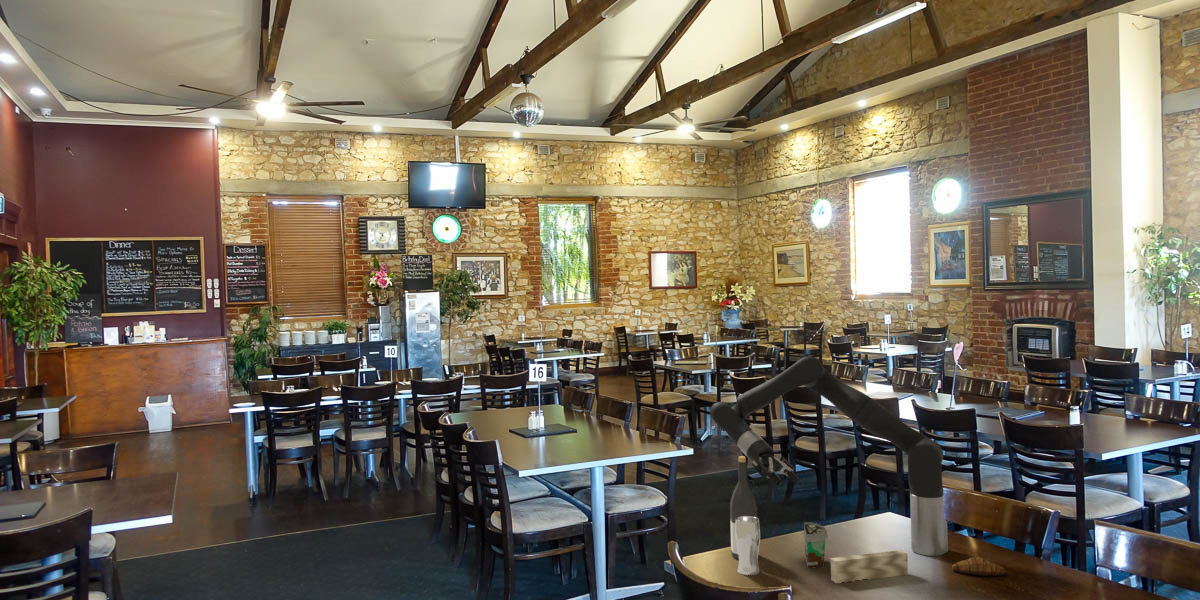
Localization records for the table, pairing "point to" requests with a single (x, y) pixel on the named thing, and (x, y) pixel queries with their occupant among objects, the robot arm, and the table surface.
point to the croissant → (978, 567)
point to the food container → (814, 544)
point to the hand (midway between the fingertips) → (789, 483)
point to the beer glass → (747, 544)
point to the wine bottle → (741, 502)
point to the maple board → (869, 566)
